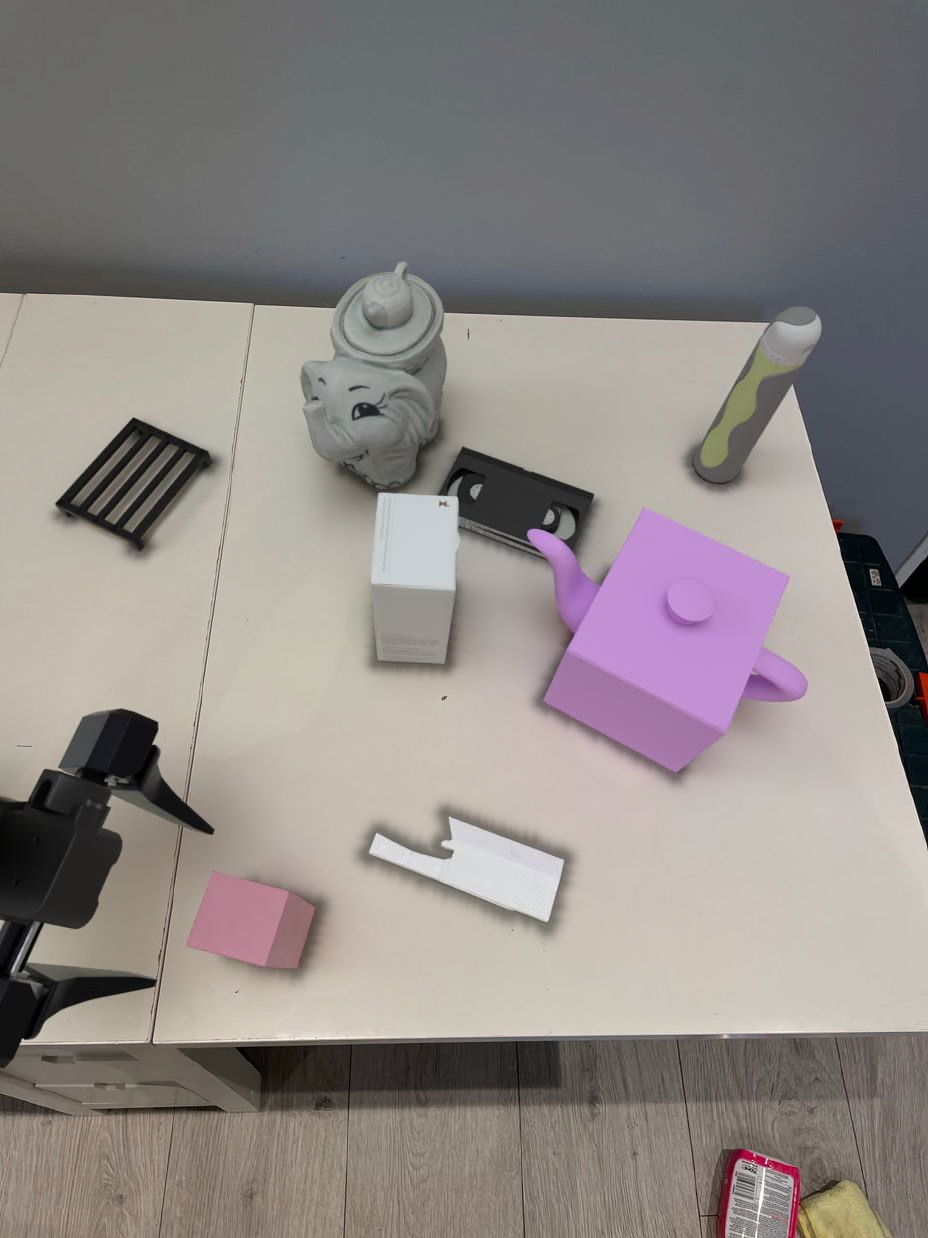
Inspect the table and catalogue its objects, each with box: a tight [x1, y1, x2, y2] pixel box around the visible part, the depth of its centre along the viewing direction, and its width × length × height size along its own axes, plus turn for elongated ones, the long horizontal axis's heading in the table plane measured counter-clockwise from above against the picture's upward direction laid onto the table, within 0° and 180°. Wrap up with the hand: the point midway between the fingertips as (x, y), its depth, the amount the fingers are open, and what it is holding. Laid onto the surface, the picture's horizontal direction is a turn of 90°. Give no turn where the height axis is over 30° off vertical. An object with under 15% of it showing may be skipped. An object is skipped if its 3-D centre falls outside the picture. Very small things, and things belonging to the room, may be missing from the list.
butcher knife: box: [368, 816, 565, 923], centre depth 59 cm, size 5×15×1 cm, turn 70°
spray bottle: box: [693, 305, 823, 484], centre depth 69 cm, size 5×5×20 cm
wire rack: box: [54, 416, 213, 552], centre depth 72 cm, size 12×9×2 cm
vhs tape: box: [436, 446, 595, 560], centre depth 73 cm, size 14×8×2 cm, turn 68°
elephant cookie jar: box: [299, 260, 448, 490], centre depth 68 cm, size 16×15×19 cm
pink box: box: [185, 870, 317, 969], centre depth 51 cm, size 5×4×13 cm
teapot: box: [527, 506, 809, 774], centre depth 62 cm, size 15×25×14 cm, turn 61°
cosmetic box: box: [370, 492, 461, 665], centre depth 61 cm, size 8×7×16 cm
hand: (183, 904), depth 47 cm, fingers open, 9 cm apart
